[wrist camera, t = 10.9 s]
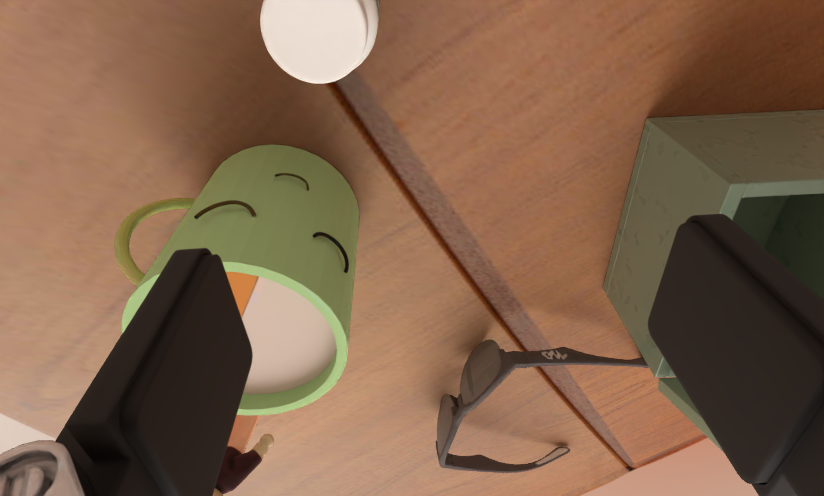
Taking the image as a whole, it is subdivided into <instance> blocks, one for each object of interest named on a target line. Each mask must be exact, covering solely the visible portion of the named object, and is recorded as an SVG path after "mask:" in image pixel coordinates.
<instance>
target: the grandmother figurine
mask: <svg viewBox="0 0 824 496" xmlns="http://www.w3.org/2000/svg"><path fill="white" fill-rule="evenodd" d="M259 417H260V415H250V416H247V415H236V419H235V422H234V425H233V429H232V432H231V435H230V439H229V442H228V445H227V449H226V452H225V456H224V459H223V462H222V466H221V469H220V472H219V476H218V479H217V482H216V486H215V489H214V493H213V496H223V495H222V494H225V493H227V492H229V491H232V490H234V489H235V488H236V487H237V486H238V485H239V484H240V483H241V482H242V481H243V480H244V479H245V478H246V477H247V476H248V475H249V474H250V473H251V472H252V471H253V470H254V469H255V468H256V467H257V466H258V465H259V464H260V462H261V461H262V458H263V457H264V455H265V454H266V453H267V450H268V448H269V447H270V446H271V445H272V444H273V442H274V438H273V436H272V435H270V434H265V435H263V436H262V437H261V439H260V442H259V443H257V444H256V445H255V446H254V448H253V449H252V450H251V451H249V452H248V453H244V452H245V449H246V445H247V443H248V441H249V439H250V437H251V435H252V433H253V430H254V428H255V426H256V425H257V422H258V420H259Z"/></svg>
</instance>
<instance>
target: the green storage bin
mask: <svg viewBox="0 0 824 496" xmlns="http://www.w3.org/2000/svg"><path fill="white" fill-rule="evenodd" d="M707 214H724V215H726V216H728V217H729V218H730V219H731V220H732V221H733V222H735V223H736V224H737V225H738V226H739V227H740V228H741V229H743V230H744V231H745V232H746V233H747V234H748V235H749V236H751V237H752V238H753V239H754V240H755V241H756V242H757V243H759V244H760V245H761V246H762V247H763V248H764V249H766V250H767V251H768V252H769V253H770V254H771V255H772V256H774V257H775V258H776V259H777V260H778V261H779V262H780V263H782V264H783V265H784V266H785V267H786V268H787V269H788V270H790V271H791V272H792V273H793V274H794V275H795V276H796V277H798V278H799V279H800V280H801V281H802V282H803V283H804V284H806V285H807V286H808V287H809V288H810V289H811V290H812V291H814V292H815V293H816V294H817V295H818V296H819V297H820V298H822V299H823V300H824V109H818V110H798V111H778V112H758V113H738V114H718V115H697V116H677V117H657V118H646V121H645V125H644V129H643V133H642V137H641V141H640V144H639V148H638V152H637V156H636V160H635V164H634V168H633V172H632V176H631V180H630V183H629V187H628V191H627V195H626V199H625V203H624V207H623V211H622V215H621V219H620V222H619V226H618V230H617V234H616V238H615V242H614V246H613V250H612V254H611V258H610V261H609V265H608V269H607V273H606V277H605V281H604V285H603V289H604V291H605V293H606V294H607V296H608V298H609V299H610V301H611V303H612V305H613V306H614V308H615V310H616V311H617V313H618V315H619V317H620V318H621V320H622V322H623V323H624V325H625V327H626V329H627V330H628V332H629V334H630V335H631V337H632V339H633V341H634V342H635V344H636V346H637V347H638V349H639V351H640V353H641V354H642V356H643V358H644V359H645V361H646V363H647V365H648V366H649V368H650V370H651V371H652V373H653V375H654V377H656V378H657V377H667V376H668V377H674V376H675V374H674V372H673V371H672V369H671V368H670V366H669V364H668V363H667V361H666V360H665V358H664V357H663V355H662V353H661V352H660V350H659V349H658V347H657V346H656V344H655V342H654V341H653V339H652V338H651V336H650V334H649V330H648V318H649V315H650V312H651V309H652V306H653V303H654V300H655V297H656V293H657V290H658V287H659V284H660V281H661V278H662V275H663V272H664V269H665V266H666V263H667V259H668V256H669V253H670V250H671V247H672V244H673V241H674V238H675V235H676V232H677V229H678V227H679V226H680V225H681V224H683V223H685V222H686V220H687V219H688V218H689V217H691V216H693V215H707Z"/></svg>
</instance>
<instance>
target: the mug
mask: <svg viewBox="0 0 824 496" xmlns="http://www.w3.org/2000/svg"><path fill="white" fill-rule="evenodd" d="M172 209H189V211H188V212H187V214H186V215H185V217H184V218H183V220H182V221H181V223H180V224H179V226H178V227H177V229H176V230H175V231H174V233H173V234H172V236H171V237H170V239H169V240H168V242H167V243H166V245H165V246H164V248H163V249H162V251H161V252H160V254H159V255H158V257H157V258H156V260H155V261H154V263H153V264H152V266H151V267H150V269H149V270H148V272H147V273H146V275H145V274H143V273H142V272H141V271H140V269H139V268H138V267H137V266H136V264H135V263H134V261H133V259H132V257H131V255H130V251H129V241H130V237H131V234H132V232H133V230H134V228H135V227H136V226H137V225H138V224H139V223H140V222H141V221H143V220H144V219H146V218H147V217H149V216H151V215H153V214H155V213H158V212H162V211H166V210H172ZM358 228H359V209H358V204H357V201H356V198H355V195H354V193H353V191H352V189H351V187H350V185H349V183H348V182H347V181H346V180H345V178H344V177H343V176H342V175H341V173H340V172H339V171H337V170H336V169H335V168H334V167H333V166H332V165H331V164H330V163H328V162H327V161H325V160H323V159H322V158H320V157H319V156H317V155H315V154H312V153H310V152H308V151H305V150H303V149H299V148H295V147H291V146H286V145H274V144H272V145H260V146H255V147H251V148H247V149H244V150H242V151H240V152H238V153H236V154H234V155H232V156H230V157H229V158H228V159H227V160H225V161H224V162H223V163H222V164H221V165H220V166H219V167H218V168H217V170H216V171H215V172H214V173H213V175H212V176H211V178H210V179H209V181H208V182H207V184H206V185H205V187H204V188H203V190H202V191H201V193H200V194H199V196H198V197H197V199H193V198H175V199H166V200H161V201H157V202H153V203H150V204H147V205H145V206H143V207H141V208H139V209H137V210H135V211H134V212H133V213H131V214H130V215H129V216H128V217H127V218H126V219H125V220H124V221H123V223H122V224H121V226H120V227H119V229H118V231H117V234H116V237H115V244H114V247H115V255H116V258H117V262H118V264H119V266H120V268H121V270H122V271H123V273H124V274H125V275H126V277H127V278H128V279H129V280H130V281H131V282H132V283H133V284H134V285H135V286H137V288H136V290H135V291H134V293H133V294H132V296H131V297H130V299H129V301H128V303H127V305H126V307H125V309H124V312H123V318H122V325H121V327H122V334H123V332H124V331H125V329H126V327H127V326H128V324H129V323H130V321H131V320H132V318H133V316H134V315H135V313H136V312H137V310H138V308H139V307H140V305H141V304H142V302H143V300H144V299H145V297H146V296H147V294H148V292H149V291H150V289H151V288H152V286H153V285H154V283H155V281H156V280H157V278H158V277H159V275H160V273H161V272H162V270H163V269H164V267H165V265H166V264H167V262H168V261H169V259H170V258H171V256H172V254H173V253H174V252H175V251H176V250H181V249H196V248H207V249H209V250H210V252H211V253H212V255H214V254H217V255H219V256H220V258H221V260H222V263H223V266H224V269H225V271H226V274H227V277H228V280H229V283H230V286H231V289H232V292H233V295H234V297H235V300H236V303H237V306H238V309H239V312H240V315H241V318H242V321H243V323H244V326H245V329H246V332H247V335H248V338H249V341H250V344H251V347H252V353H253V358H252V365H251V368H250V372H249V375H248V378H247V382H246V385H245V388H244V392H243V395H242V398H241V402H240V405H239V409H238V412H237V415H247V416H250V415H270V414H277V413H283V412H287V411H290V410H294V409H298V408H300V407H302V406H305V405H307V404H310V403H312V402H313V401H315V400H317V399H318V398H320V397H321V396H323V395H324V394H325V393H327V392H328V391H329V390H330V389H331V388H332V387H333V386H334V385H335V384H336V382H337V381H338V379H339V378H340V376H341V375H342V373H343V370H344V368H345V365H346V362H347V353H348V342H349V331H350V319H351V308H352V297H353V285H354V274H355V262H356V251H357V239H358Z"/></svg>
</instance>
